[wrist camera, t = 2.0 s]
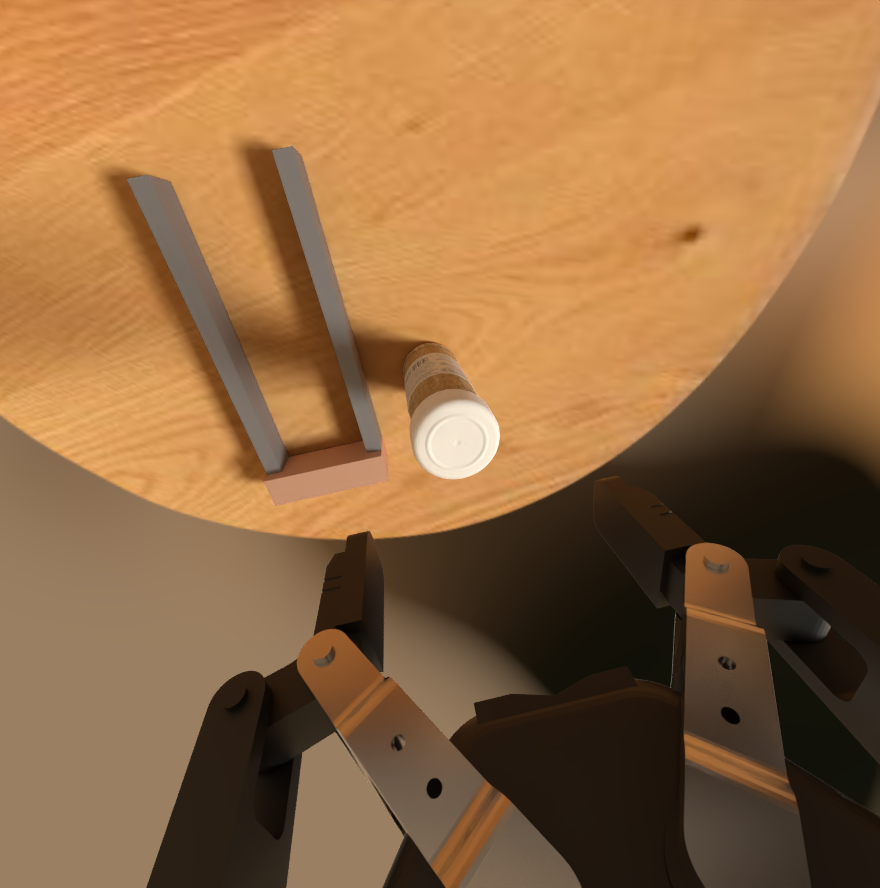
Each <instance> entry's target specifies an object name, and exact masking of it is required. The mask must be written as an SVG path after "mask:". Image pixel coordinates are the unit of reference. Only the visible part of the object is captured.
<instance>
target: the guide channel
mask: <svg viewBox="0 0 880 888" xmlns="http://www.w3.org/2000/svg"><path fill="white" fill-rule="evenodd" d="M272 153H273V156H274V159H275V162H276V165H277V169H278V172H279V175H280V178H281V181H282V185H283V188H284V191H285V194H286V197H287V200H288V204H289V207H290V210H291V213H292V216H293V220H294V223H295V226H296V229H297V232H298V235H299V239H300V242H301V245H302V248H303V251H304V255H305V258H306V261H307V264H308V267H309V270H310V274H311V277H312V280H313V283H314V286H315V290H316V293H317V296H318V299H319V302H320V305H321V309H322V312H323V315H324V318H325V321H326V325H327V328H328V331H329V334H330V337H331V340H332V344H333V347H334V350H335V353H336V356H337V360H338V363H339V366H340V369H341V372H342V375H343V379H344V382H345V385H346V388H347V391H348V395H349V398H350V401H351V404H352V407H353V410H354V414H355V417H356V420H357V423H358V426H359V430H360V433H361V436H362V439H363V441H360V442H355V443H350V444H346V445H341V446H337V447H332V448H327V449H323V450H318V451H314V452H309V453H304V454H300V455H295V456H291V457H289V456H288V453H287V451H286V449H285V446H284V444H283V442H282V439H281V437H280V435H279V432H278V430H277V428H276V425H275V423H274V421H273V418H272V416H271V414H270V411H269V409H268V407H267V404H266V402H265V400H264V397H263V395H262V393H261V390H260V388H259V386H258V383H257V381H256V379H255V376H254V374H253V372H252V370H251V367H250V365H249V363H248V360H247V358H246V356H245V353H244V351H243V349H242V346H241V344H240V342H239V339H238V337H237V335H236V332H235V330H234V328H233V325H232V323H231V321H230V318H229V316H228V314H227V311H226V309H225V307H224V304H223V302H222V300H221V297H220V295H219V293H218V290H217V288H216V286H215V284H214V281H213V279H212V277H211V274H210V272H209V270H208V267H207V265H206V263H205V260H204V258H203V256H202V253H201V251H200V249H199V246H198V244H197V242H196V239H195V237H194V235H193V232H192V230H191V228H190V225H189V223H188V221H187V218H186V216H185V214H184V211H183V209H182V207H181V205H180V202H179V200H178V198H177V195H176V193H175V191H174V188H173V186H172V184H171V182H170V181H167V180H163V179H160V178H157V177H154V176H151V175H144V176H139V177H134V178H129V179H127V181H128V183H129V185H130V187H131V189H132V191H133V193H134V196H135V198H136V200H137V202H138V204H139V206H140V208H141V210H142V212H143V215H144V217H145V219H146V221H147V223H148V225H149V227H150V229H151V231H152V233H153V236H154V238H155V240H156V242H157V244H158V246H159V248H160V250H161V252H162V255H163V257H164V259H165V261H166V263H167V265H168V267H169V269H170V271H171V273H172V276H173V278H174V280H175V282H176V284H177V286H178V288H179V290H180V292H181V295H182V297H183V299H184V301H185V303H186V305H187V307H188V309H189V311H190V313H191V316H192V318H193V320H194V322H195V324H196V326H197V328H198V330H199V332H200V335H201V337H202V339H203V341H204V343H205V345H206V347H207V349H208V351H209V353H210V356H211V358H212V360H213V362H214V364H215V366H216V368H217V370H218V372H219V375H220V377H221V379H222V381H223V383H224V385H225V387H226V389H227V391H228V393H229V396H230V398H231V400H232V402H233V404H234V406H235V408H236V410H237V412H238V415H239V417H240V419H241V421H242V423H243V425H244V427H245V429H246V431H247V433H248V436H249V438H250V440H251V442H252V444H253V446H254V448H255V450H256V452H257V455H258V457H259V459H260V461H261V463H262V465H263V467H264V469H265V471H266V473H267V476H266V478H265V480H264V484H265V486H266V488H267V490H268V492H269V494H270V496H271V498H272V500H273V502H274V504H275V506H277V505H282V504H286V503H291V502H295V501H300V500H304V499H309V498H313V497H318V496H322V495H327V494H331V493H336V492H341V491H345V490H350V489H354V488H359V487H363V486H368V485H372V484H377V483H381V482H386V481H389V460H388V456H387V453H386V449H385V446H384V442H383V439H382V435H381V432H380V428H379V425H378V421H377V418H376V414H375V411H374V407H373V404H372V400H371V397H370V393H369V390H368V386H367V383H366V379H365V376H364V372H363V369H362V365H361V362H360V358H359V355H358V351H357V348H356V344H355V341H354V337H353V334H352V330H351V327H350V323H349V320H348V316H347V313H346V309H345V306H344V302H343V299H342V295H341V292H340V288H339V285H338V281H337V278H336V274H335V271H334V267H333V264H332V260H331V257H330V253H329V250H328V246H327V243H326V239H325V236H324V232H323V229H322V225H321V222H320V218H319V215H318V211H317V208H316V204H315V201H314V197H313V194H312V190H311V187H310V183H309V180H308V176H307V173H306V169H305V166H304V162H303V159H302V156H301V155H300V154H299V152H298V151H297V150H296V149H295V148H294V147H293V146H291V147H286V148H281V149H276V150H272Z"/></svg>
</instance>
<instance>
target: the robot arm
mask: <svg viewBox="0 0 880 888" xmlns="http://www.w3.org/2000/svg"><path fill="white" fill-rule="evenodd" d="M594 521H595V524H596V527H597V529H598V531H599V532H600V534H601V535H602V536H603V538H604V539H605V540H606V542H607V543H608V544H609V545H610V547H611V548H612V550H613V551H614V552H615V554H616V555H617V556H618V558H619V559H620V560H621V561H622V563H623V564H624V565H625V566H626V568H627V569H628V571H629V572H630V573H631V575H632V576H633V577H634V579H635V580H636V581H637V582H638V584H639V585H640V587H641V588H642V589H643V590H644V592H645V593H646V594H647V596H648V597H649V598H650V599H651V601H652V602H653V604H654V605H655V606H656V608H660V607H664V606H669V605H671V606H672V607H673V608H674V609H675V611H676V616H675V628H674V649H673V667H672V679H671V688H669V687H667V686H664V685H661V684H658V683H655V682H651V681H646V680H640V679H634V678H633V676H632V675H631V673H630V671H629V669H628V668H627V666H626V667H622V668H618V669H613V670H609V671H605V672H601V673H597V674H593V675H589V676H587V677H586V678H584V679H582V680H581V681H579V682H577V683H576V684H574V685H572V686H571V687H569V688H567V689H566V690H564V691H562V692H560V693H559V694H557V695H551V696H550V695H549V696H548V695H526V694H509V695H505V696H501V697H497V698H493V699H488V700H484V701H480V702H476V703H474V706H475V711H476V716H475V717H473V718H472V719H470V720H469V721H467V722H466V723H465V724H463V725H462V726H461V727H460V728H459V729H458V730H457V731H456V732H455V733H454V734H453V736H452V737H451V738H450V739H449V740H448V738H447V737H446V736H445V735H444V734H443V733H442V732H441V731H440V730H439V729H438V728H437V726H435V724H434V723H433V722H432V721H431V720H430V719H429V718H428V717H427V716H426V715H425V713H424V712H423V711H422V710H421V709H420V708H419V707H418V706H417V705H416V704H415V703H414V702H413V701H412V699H411V698H410V697H409V696H408V695H407V694H406V693H405V692H404V691H403V690H402V688H401V687H400V686H399V685H398V684H397V683H396V682H395V681H394V680H393V679H392V678H390V677H387V678H385V677H384V676H383V675H382V674H381V673H380V672H383V657H384V653H383V652H384V573H383V568H382V564H381V560H380V558H379V555H378V552H377V549H376V546H375V543H374V540H373V537H372V535H371V533H370V531H367V532H362V533H358V534H353V535H349V536H348V537H347V542H346V549H345V552H342V553H338V554H335V555H334V556H333V558H332V560H331V561H330V563H329V564H328V566H327V569H326V574H325V579H324V580H325V582H324V584H323V590H322V591H323V593H322V595H321V600H320V605H319V610H318V616H317V621H316V627H315V631H314V635H313V637H311V638H310V639H309V640H308V641H307V642H306V643H305V645H304V646H303V647H302V649H301V651H300V653H299V655H298V658H297V659H296V660H295V661H294V662H292V663H291V664H289V665H287V666H285V667H284V668H282V669H280V670H278V671H276V672H274V673H273V674H271V675H269V676H267V677H265V678H264V677H263V676H262V675H261V674H260V673H258V672H256V671H247V672H243V673H240V674H238V675H236V676H234V677H233V678H231V679H229V680H228V681H227V682H226V683H225V684H224V685H223V686H221V687H220V689H219V690H218V691H217V692H216V694H215V695H214V696H213V698H212V700H211V702H210V704H209V706H208V709H207V712H206V715H205V717H204V721H203V723H202V726H201V729H200V732H199V735H198V738H197V741H196V744H195V747H194V750H193V753H192V756H191V759H190V762H189V764H188V768H187V770H186V773H185V776H184V779H183V782H182V785H181V788H180V791H179V794H178V797H177V800H176V803H175V805H174V809H173V811H172V814H171V817H170V820H169V823H168V826H167V829H166V832H165V835H164V838H163V841H162V844H161V846H160V850H159V852H158V855H157V858H156V861H155V864H154V867H153V870H152V873H151V876H150V879H149V882H148V885H147V888H286V885H287V876H288V868H289V860H290V850H291V843H292V834H293V826H294V817H295V810H296V801H297V793H298V784H299V776H300V768H301V767H300V766H301V759H302V752H304V751H305V750H307V749H308V748H310V747H311V746H313V745H314V744H316V743H318V742H319V741H321V740H322V739H324V738H326V737H327V736H329V735H331V734H332V733H334V732H335V733H336V734H337V736H338V737H339V739H340V740H341V742H342V743H343V745H344V747H345V748H346V750H347V751H348V752H349V754H350V756H351V757H352V758H353V760H354V761H355V763H356V764H357V766H358V768H359V769H360V771H361V772H362V773H363V775H364V777H365V778H366V780H367V781H368V783H369V784H370V786H371V787H372V789H373V790H374V792H375V794H376V795H377V797H378V799H379V800H380V802H381V803H382V805H383V806H384V808H385V809H386V811H387V812H388V814H389V816H390V817H391V819H392V820H393V822H394V823H395V825H396V826H397V828H398V829H399V831H400V832H401V834H402V835H403V837H404V839H403V841H402V844H401V846H400V848H399V851H398V853H397V855H396V858H395V860H394V862H393V864H392V867H391V869H390V871H389V874H388V876H387V878H386V881H385V883H384V885H383V888H880V817H879V816H878V815H876V814H874V813H873V812H871V811H869V810H868V809H866V808H865V807H863V806H862V805H860V804H858V803H857V802H855V801H854V800H852V799H850V798H849V797H847V796H846V795H844V794H842V793H841V792H839V791H838V790H836V789H834V788H832V787H831V786H830V785H828V784H826V783H825V782H823V781H821V780H820V779H818V778H817V777H815V776H813V775H812V774H810V773H809V772H807V771H805V770H804V769H802V768H801V767H799V766H797V765H795V764H794V763H793V762H791V761H789V760H788V759H786V758H785V757H784V752H783V746H782V739H781V733H780V727H779V719H778V713H777V706H776V700H775V693H774V687H773V680H772V674H771V667H770V661H769V655H768V647H767V641H766V639H767V640H768V641H769V642H770V643H771V645H772V646H773V647H774V648H775V649H776V650H777V651H778V652H779V653H780V655H781V656H782V657H783V658H784V659H785V660H786V661H787V662H788V663H789V665H790V666H791V667H792V668H793V669H794V670H795V671H796V672H797V673H798V675H799V676H800V677H801V678H802V679H803V680H804V681H805V682H806V683H807V685H809V687H810V688H811V689H812V690H813V691H814V692H815V693H816V694H817V696H818V697H819V698H820V699H821V700H822V701H823V702H824V703H825V704H826V706H828V708H829V709H830V710H831V711H832V712H833V713H834V714H835V716H836V717H837V718H838V719H839V720H840V721H841V722H842V723H843V724H844V725H845V727H846V728H847V729H848V730H849V731H850V732H851V733H852V734H853V735H854V736H855V738H856V739H857V740H858V741H859V742H860V743H861V744H862V745H863V747H864V748H865V749H866V750H867V751H868V752H869V753H870V754H871V755H872V756H873V758H874V759H875V760H876V761H877V762H878V763H879V764H880V587H879V586H878V585H877V584H875V583H874V582H873V581H871V580H870V579H869V578H867V577H866V576H864V575H863V574H862V573H860V572H859V571H858V570H856V569H855V568H853V567H852V566H851V565H849V564H848V563H847V562H845V561H844V560H842V559H841V558H839V557H838V556H836V555H834V554H832V553H830V552H828V551H825V550H823V549H819V548H816V547H812V546H806V545H792V546H788V547H785V548H784V549H782V551H781V552H780V555H779V558H778V560H767V559H744V558H742V557H741V556H740V555H739V554H738V553H736V552H735V551H733V550H731V549H729V548H727V547H724V546H722V545H717V544H712V543H706V542H704V541H703V540H702V539H701V538H700V537H699V536H698V535H697V534H696V533H695V532H694V531H692V530H691V529H690V528H689V527H688V526H687V525H686V524H685V523H684V522H683V521H682V520H680V519H679V518H678V517H677V516H676V515H675V514H672V511H671V510H669V509H668V508H667V507H666V506H664V505H663V503H662V502H661V501H659V500H658V499H657V498H656V497H655V496H654V495H653V494H651V493H650V492H647V491H645V490H643V489H641V488H639V487H633V488H631V487H630V486H629V485H628V484H627V483H625V481H624V480H623V479H622V478H621V477H619V476H614V477H610V478H605V479H601V480H597V481H595V483H594ZM830 627H832V628H833V629H835V630H836V631H837V632H838V633H839V634H840V635H841V636H842V637H844V639H846V640H847V641H848V642H849V643H850V644H851V645H852V646H853V647H854V648H855V649H857V650H858V652H859V653H860V654H861V655H862V657H863V658H864V659H863V658H862V657H861V656H860V655H858V654H857V653H856V652H855V651H854V650H853V649H852V648H851V647H850V646H849V645H847V644H846V643H845V642H844V641H843V640H842V639H841V638H840V637H839V636H838V635H837V634H836V633H834V632H833V631H832V630H831V629H830Z"/></svg>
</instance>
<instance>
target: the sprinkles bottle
mask: <svg viewBox="0 0 880 888" xmlns="http://www.w3.org/2000/svg"><path fill="white" fill-rule="evenodd" d="M403 377H404V380H405V390H406V398H407V406H408V412H409V414H410V417H411V422H410V439H411V445H412V449H413V453H414V456H415V458H416V460H417V461H418V463H419V464H420V465H421V466H422V467H423V468H424V469H425V470H426V471H428V472H429V473H431V474H432V475H435V476H437V477H440V478H445V479H460V478H465V477H468V476H471V475H473V474H475V473H477V472H479V471H480V470H482V469H483V468H484V467H485V466H486V465H487V464H488V463H489V462H490V461H491V460H492V458H493V457H494V455H495V453H496V451H497V448H498V445H499V438H500V433H499V427H498V423H497V421H496V419H495V417H494V415H493V413H492V412H491V410H490V408H489V407H488V405H487V404H486V403H485V401H484V400H483V399H481V398H480V397H479V396H477V394H476V391H475V390H474V388H473V386H472V385H471V383H470V381H469V380H468V378H467V377H466V375H465V373H464V372H463V370H462V368H461V367H460V365H459V364H458V363H457V360H456V358H455V356H454V355H453V353H452V352H451V351H450V350H449V349H448V348H447V347H445V346H443V345H441V344H437V343H425V344H421V345H419V346H417V347H416V348H414V349H413V350H412V351H411V352H410V353H409V354H408V355H407V357H406V359H405V361H404V365H403Z"/></svg>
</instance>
